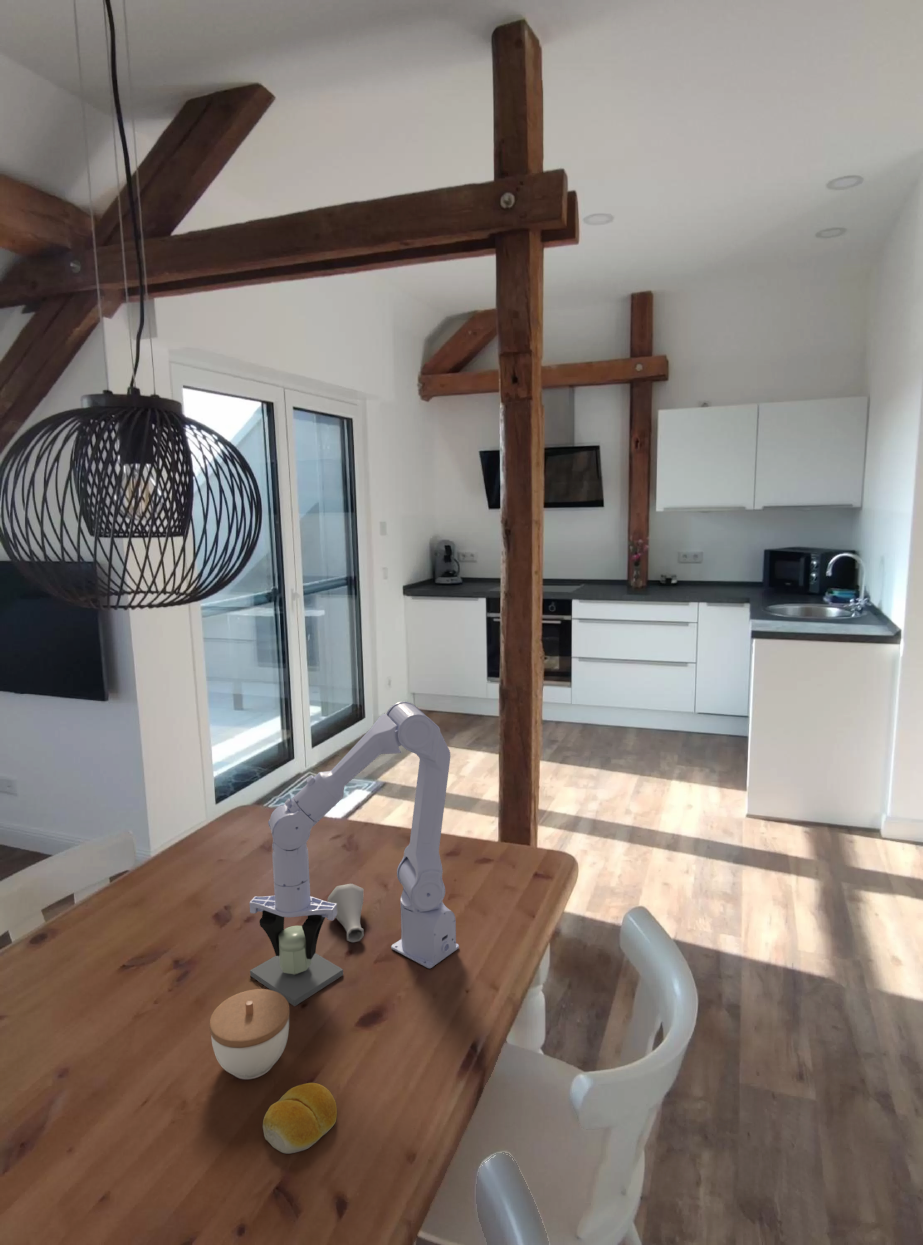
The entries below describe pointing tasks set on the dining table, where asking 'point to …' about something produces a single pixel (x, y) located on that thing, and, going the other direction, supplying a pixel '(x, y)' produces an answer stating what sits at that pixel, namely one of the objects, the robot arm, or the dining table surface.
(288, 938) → the cap
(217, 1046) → the lidded jar
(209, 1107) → the dining table surface
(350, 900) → the flask
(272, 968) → the mat
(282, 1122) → the bread roll
